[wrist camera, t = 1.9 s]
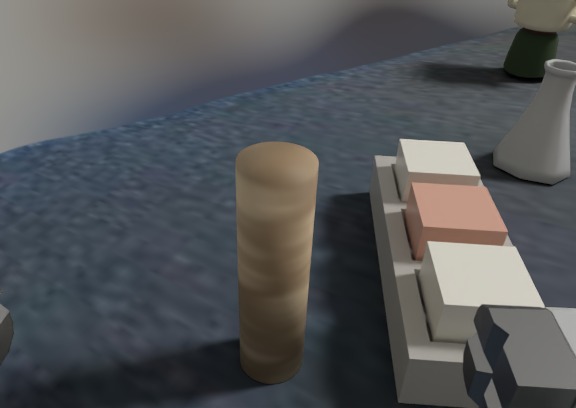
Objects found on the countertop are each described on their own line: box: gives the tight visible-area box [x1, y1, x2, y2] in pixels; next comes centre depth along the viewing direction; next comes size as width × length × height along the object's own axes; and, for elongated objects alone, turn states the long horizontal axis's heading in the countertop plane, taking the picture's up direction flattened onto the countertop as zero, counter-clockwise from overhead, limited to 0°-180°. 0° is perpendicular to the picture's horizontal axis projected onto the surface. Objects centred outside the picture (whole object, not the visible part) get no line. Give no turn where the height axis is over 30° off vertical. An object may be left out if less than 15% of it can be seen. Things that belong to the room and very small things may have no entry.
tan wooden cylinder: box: [236, 142, 319, 384], centre depth 26 cm, size 4×4×13 cm
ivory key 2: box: [418, 241, 545, 344], centre depth 28 cm, size 5×5×3 cm
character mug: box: [504, 0, 576, 79], centre depth 67 cm, size 11×7×13 cm, turn 37°
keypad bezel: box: [369, 156, 513, 408], centre depth 35 cm, size 8×21×4 cm, turn 177°
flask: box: [493, 59, 576, 185], centre depth 47 cm, size 7×7×10 cm
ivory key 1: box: [394, 139, 481, 203], centre depth 39 cm, size 5×5×3 cm
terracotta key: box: [405, 182, 508, 261], centre depth 33 cm, size 5×5×3 cm
